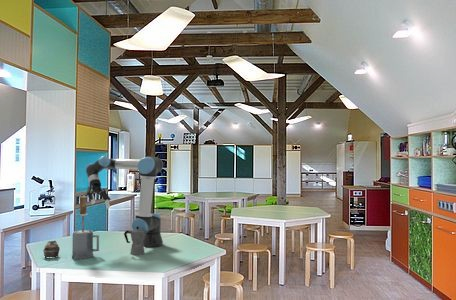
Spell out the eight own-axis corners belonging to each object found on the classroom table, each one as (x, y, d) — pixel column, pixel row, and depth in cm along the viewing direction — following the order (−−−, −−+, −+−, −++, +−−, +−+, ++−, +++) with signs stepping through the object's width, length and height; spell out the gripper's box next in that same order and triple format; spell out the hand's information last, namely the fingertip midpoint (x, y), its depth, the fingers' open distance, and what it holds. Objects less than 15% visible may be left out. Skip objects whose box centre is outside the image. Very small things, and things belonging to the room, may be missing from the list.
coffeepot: (147, 251, 264) (147, 224, 264) (148, 254, 255) (148, 227, 255) (123, 252, 259) (123, 226, 260) (124, 256, 250) (124, 228, 251)
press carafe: (100, 255, 252) (100, 231, 252) (85, 260, 240) (85, 234, 240) (83, 253, 258) (83, 229, 259) (67, 257, 247) (67, 232, 247)
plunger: (92, 232, 252) (92, 196, 253) (82, 234, 245) (82, 197, 245) (83, 231, 255) (83, 196, 256) (73, 233, 248) (73, 197, 249)
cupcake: (41, 256, 250) (41, 241, 251) (57, 254, 256) (57, 239, 256) (45, 259, 243) (45, 243, 243) (61, 257, 249) (61, 241, 249)
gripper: (104, 189, 290) (110, 212, 278) (77, 180, 270) (83, 204, 258) (111, 183, 288) (118, 206, 276) (84, 174, 268) (91, 198, 256)
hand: (101, 205), depth 267 cm, fingers open, 13 cm apart
